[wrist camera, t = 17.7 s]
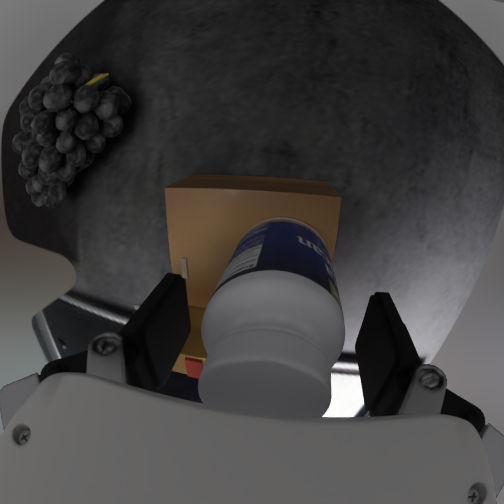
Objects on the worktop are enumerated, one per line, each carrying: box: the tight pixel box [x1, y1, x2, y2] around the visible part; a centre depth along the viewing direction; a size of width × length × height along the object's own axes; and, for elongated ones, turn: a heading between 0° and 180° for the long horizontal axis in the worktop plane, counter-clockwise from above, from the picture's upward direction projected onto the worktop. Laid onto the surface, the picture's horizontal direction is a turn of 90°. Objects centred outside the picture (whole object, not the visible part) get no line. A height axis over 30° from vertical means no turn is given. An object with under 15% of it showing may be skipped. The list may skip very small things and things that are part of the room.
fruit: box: [12, 52, 132, 208], centre depth 16 cm, size 9×8×15 cm
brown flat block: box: [134, 175, 342, 310], centre depth 20 cm, size 14×14×5 cm
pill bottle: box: [198, 217, 345, 417], centre depth 11 cm, size 5×5×10 cm
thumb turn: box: [172, 307, 208, 378], centre depth 16 cm, size 5×2×5 cm, turn 88°
